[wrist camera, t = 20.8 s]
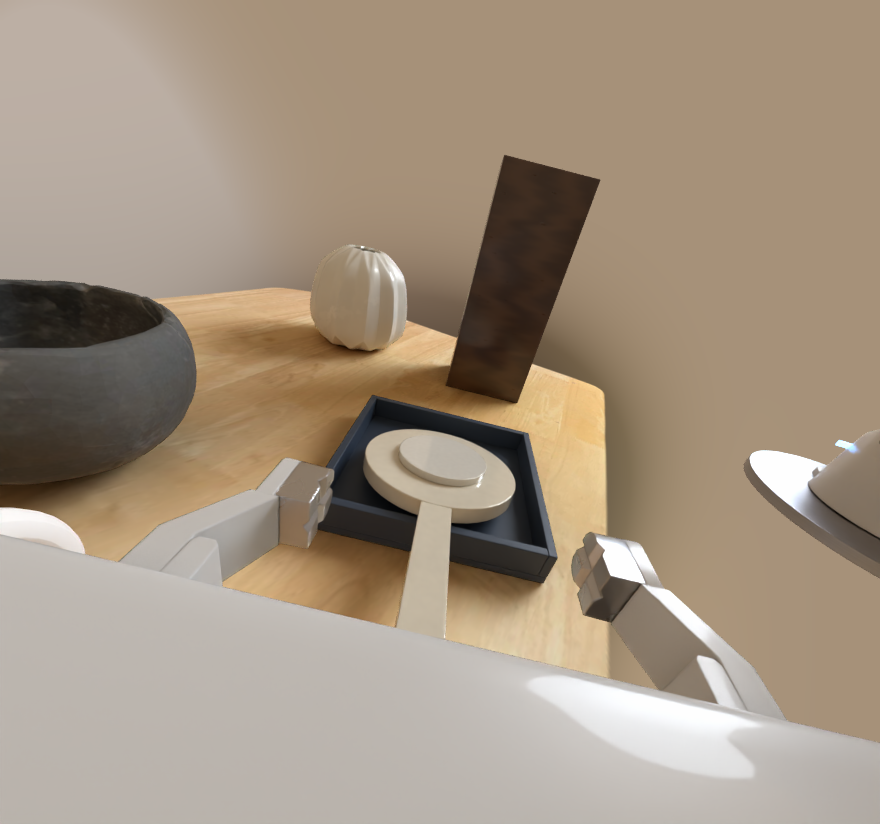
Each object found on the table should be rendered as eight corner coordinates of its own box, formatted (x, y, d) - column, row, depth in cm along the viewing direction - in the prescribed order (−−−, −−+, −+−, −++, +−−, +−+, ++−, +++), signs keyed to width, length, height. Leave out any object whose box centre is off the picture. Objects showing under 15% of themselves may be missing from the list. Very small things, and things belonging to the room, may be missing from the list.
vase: (338, 320, 61) (345, 237, 55) (412, 343, 59) (428, 260, 53) (288, 339, 49) (289, 235, 43) (379, 368, 47) (394, 264, 41)
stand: (512, 380, 54) (580, 187, 42) (517, 403, 47) (600, 179, 35) (450, 365, 54) (500, 167, 42) (445, 385, 47) (504, 154, 35)
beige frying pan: (502, 459, 34) (508, 442, 33) (567, 722, 13) (585, 689, 12) (381, 429, 34) (385, 412, 33) (250, 648, 13) (252, 612, 12)
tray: (520, 453, 36) (528, 432, 35) (543, 583, 23) (558, 558, 22) (369, 416, 36) (372, 394, 35) (304, 526, 23) (305, 497, 22)
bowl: (14, 391, 28) (-41, 258, 23) (227, 405, 32) (218, 296, 28) (-243, 547, 16) (-472, 331, 11) (157, 533, 20) (119, 378, 15)
